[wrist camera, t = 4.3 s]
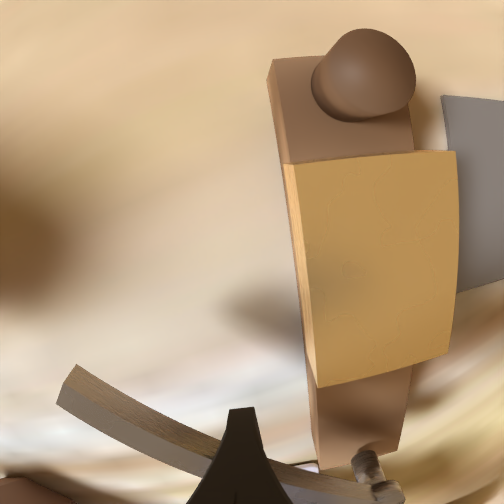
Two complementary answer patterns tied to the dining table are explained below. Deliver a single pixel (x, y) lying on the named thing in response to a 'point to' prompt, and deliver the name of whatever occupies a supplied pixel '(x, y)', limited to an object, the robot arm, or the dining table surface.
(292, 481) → the lever
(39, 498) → the brown round pot
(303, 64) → the body
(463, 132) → the mat
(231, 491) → the robot arm
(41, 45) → the dining table surface
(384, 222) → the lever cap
